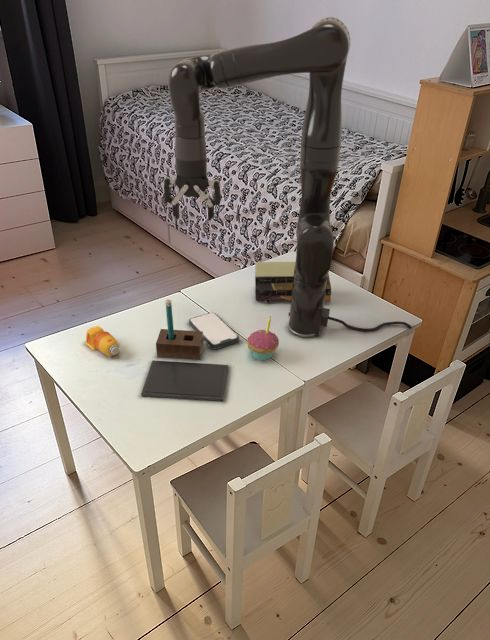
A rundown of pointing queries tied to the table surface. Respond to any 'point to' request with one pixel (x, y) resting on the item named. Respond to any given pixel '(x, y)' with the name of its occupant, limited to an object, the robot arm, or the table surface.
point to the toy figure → (101, 341)
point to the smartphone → (214, 330)
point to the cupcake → (263, 343)
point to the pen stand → (180, 344)
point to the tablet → (185, 380)
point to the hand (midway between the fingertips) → (193, 218)
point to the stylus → (169, 319)
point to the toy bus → (277, 281)
